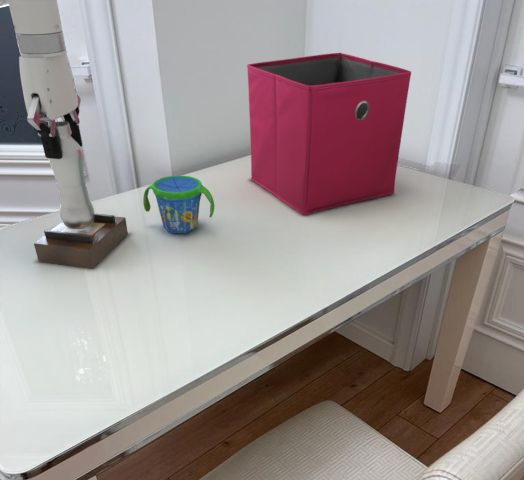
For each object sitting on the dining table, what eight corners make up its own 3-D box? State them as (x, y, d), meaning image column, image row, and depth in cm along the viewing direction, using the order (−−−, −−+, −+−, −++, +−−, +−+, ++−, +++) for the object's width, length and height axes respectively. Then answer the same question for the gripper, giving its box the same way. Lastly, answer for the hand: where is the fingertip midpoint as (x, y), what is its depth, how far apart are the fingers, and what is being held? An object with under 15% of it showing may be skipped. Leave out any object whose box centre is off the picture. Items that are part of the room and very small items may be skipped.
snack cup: (222, 223, 125) (220, 179, 119) (204, 242, 117) (201, 196, 111) (159, 214, 129) (154, 171, 123) (138, 233, 121) (132, 187, 115)
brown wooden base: (38, 261, 110) (31, 236, 107) (78, 228, 123) (73, 205, 119) (92, 268, 108) (87, 243, 105) (128, 234, 120) (124, 210, 117)
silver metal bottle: (56, 228, 112) (31, 125, 100) (82, 216, 116) (61, 117, 104) (77, 236, 109) (54, 131, 97) (103, 224, 113) (84, 122, 101)
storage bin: (304, 218, 127) (310, 84, 110) (246, 180, 147) (244, 61, 130) (398, 196, 138) (417, 71, 121) (332, 163, 158) (340, 51, 141)
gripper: (50, 36, 100) (70, 137, 111) (-10, 51, 87) (20, 165, 97) (87, 37, 99) (104, 140, 109) (32, 53, 85) (57, 168, 96)
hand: (64, 151), depth 103 cm, fingers closed on silver metal bottle, 6 cm apart
